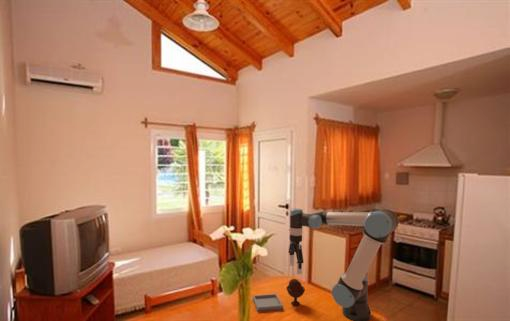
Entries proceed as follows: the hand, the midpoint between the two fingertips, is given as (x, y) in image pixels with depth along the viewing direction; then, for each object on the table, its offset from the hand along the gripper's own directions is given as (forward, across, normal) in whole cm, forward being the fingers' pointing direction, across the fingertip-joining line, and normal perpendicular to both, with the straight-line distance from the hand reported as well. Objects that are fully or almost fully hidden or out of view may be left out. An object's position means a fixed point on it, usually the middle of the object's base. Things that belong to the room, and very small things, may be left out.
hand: (295, 269), depth 165 cm
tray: (+20, -2, -17) cm, 26 cm away
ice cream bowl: (+20, 0, 0) cm, 21 cm away
